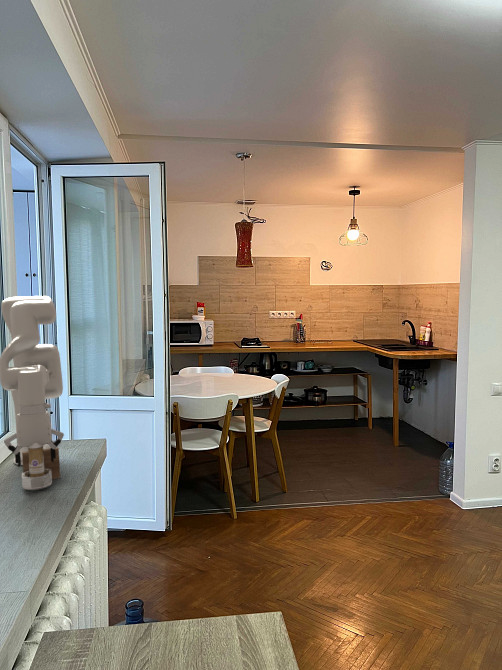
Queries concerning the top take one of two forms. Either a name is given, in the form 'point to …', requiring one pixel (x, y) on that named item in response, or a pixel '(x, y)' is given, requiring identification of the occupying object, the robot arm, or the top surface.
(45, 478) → the cup bracket
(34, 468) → the sprinkles bottle
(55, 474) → the mount board
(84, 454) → the top surface
